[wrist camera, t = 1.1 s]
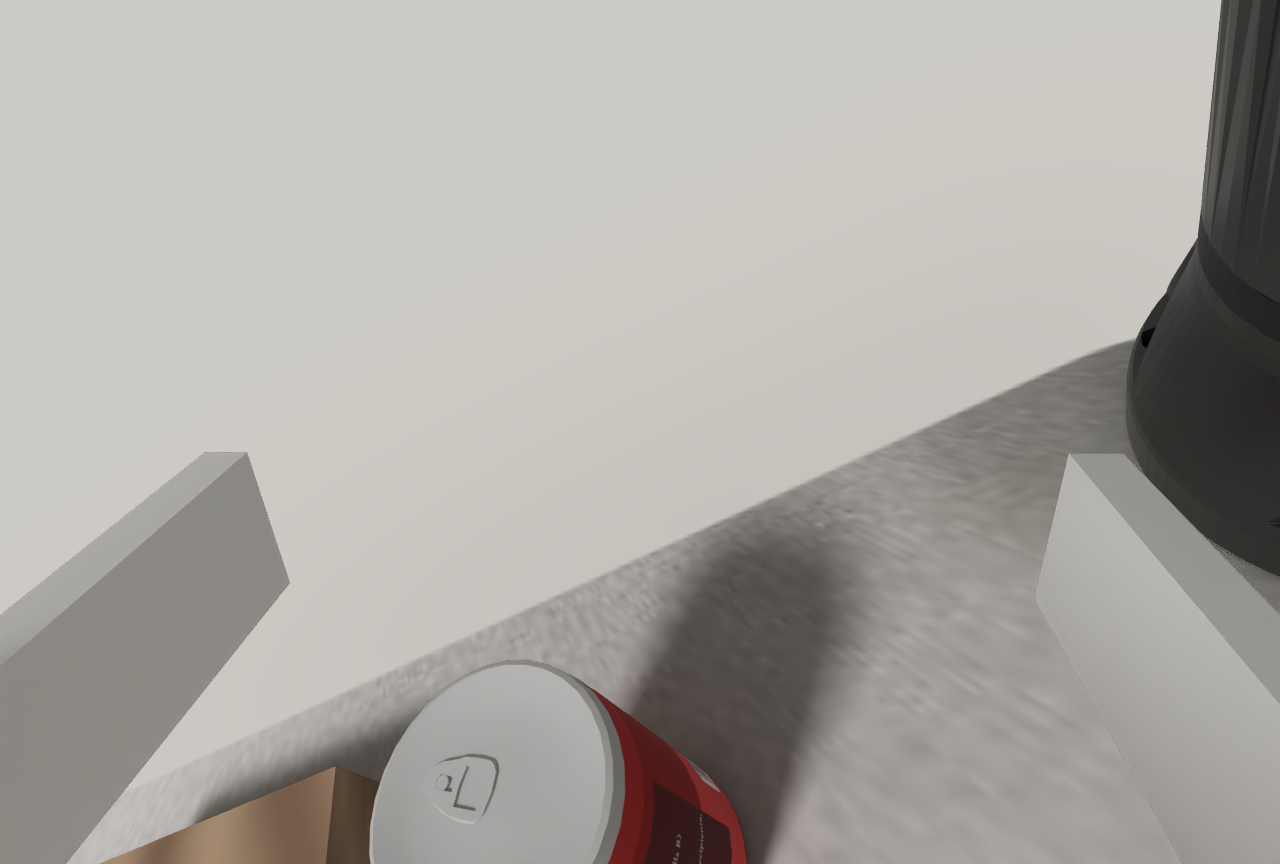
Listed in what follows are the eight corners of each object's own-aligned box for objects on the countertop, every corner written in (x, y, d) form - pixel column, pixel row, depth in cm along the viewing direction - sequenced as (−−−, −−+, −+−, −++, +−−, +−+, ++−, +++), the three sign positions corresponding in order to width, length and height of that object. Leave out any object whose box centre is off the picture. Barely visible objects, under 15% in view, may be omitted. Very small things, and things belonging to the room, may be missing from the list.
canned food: (565, 772, 32) (394, 681, 24) (744, 744, 29) (616, 632, 22) (553, 998, 27) (334, 973, 19) (767, 989, 24) (612, 955, 17)
